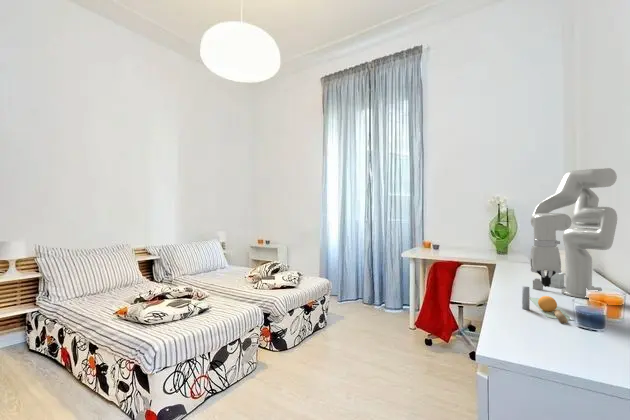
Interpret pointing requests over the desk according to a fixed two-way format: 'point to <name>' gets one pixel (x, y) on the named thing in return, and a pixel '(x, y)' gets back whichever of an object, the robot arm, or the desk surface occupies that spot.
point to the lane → (549, 314)
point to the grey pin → (525, 298)
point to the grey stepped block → (537, 284)
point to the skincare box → (557, 280)
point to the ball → (547, 303)
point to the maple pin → (560, 316)
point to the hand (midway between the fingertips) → (546, 285)
